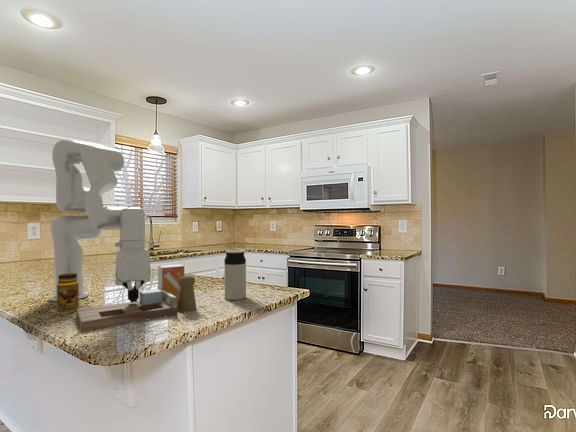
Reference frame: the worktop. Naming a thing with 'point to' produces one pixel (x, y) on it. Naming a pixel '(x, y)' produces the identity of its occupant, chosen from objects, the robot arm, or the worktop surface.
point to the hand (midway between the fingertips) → (133, 301)
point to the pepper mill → (186, 294)
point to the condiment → (67, 294)
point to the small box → (170, 278)
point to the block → (150, 296)
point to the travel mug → (235, 275)
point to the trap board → (126, 312)
